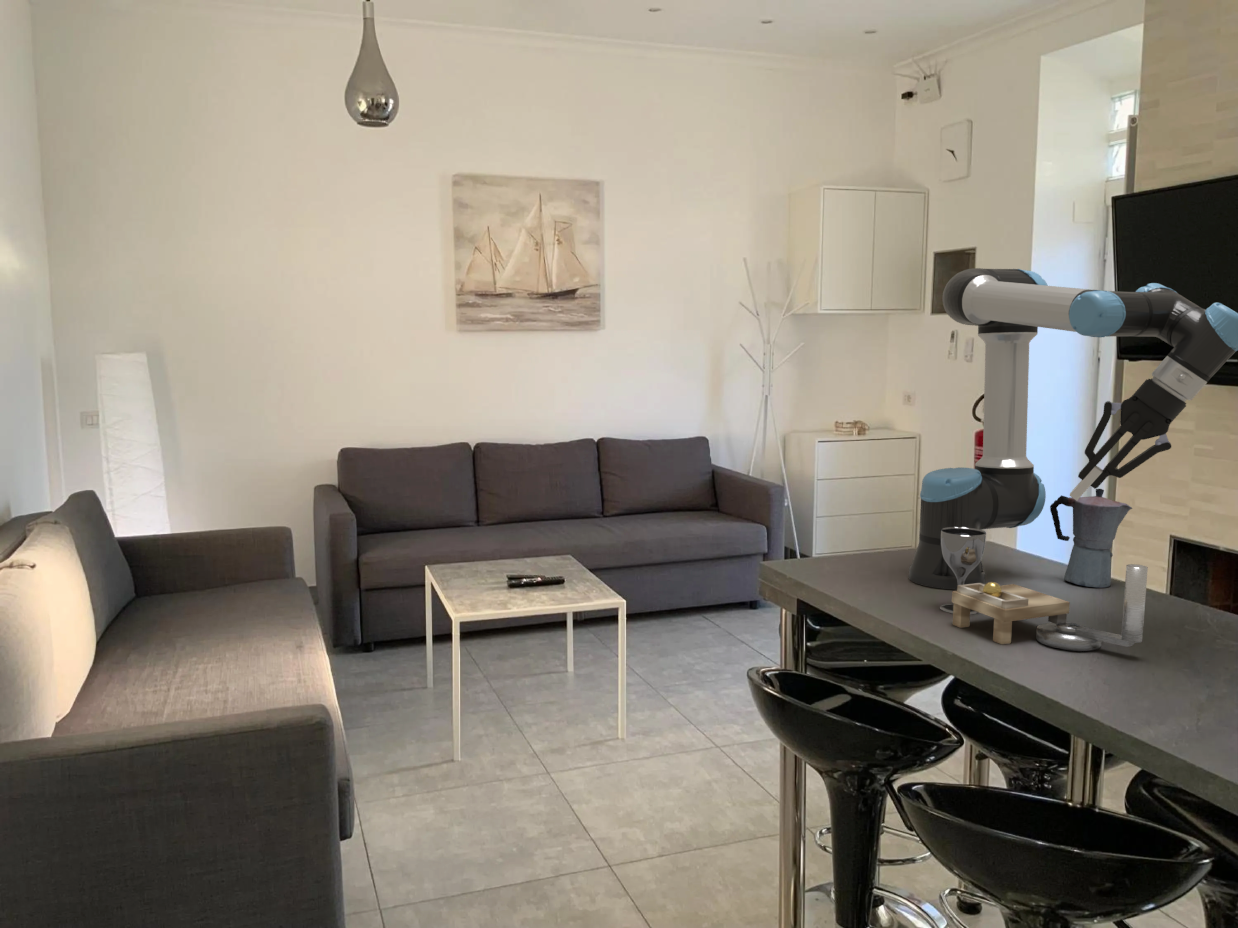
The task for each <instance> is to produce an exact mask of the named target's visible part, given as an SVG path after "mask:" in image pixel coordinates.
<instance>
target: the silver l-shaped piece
mask: <svg viewBox="0 0 1238 928" xmlns="http://www.w3.org/2000/svg"><path fill="white" fill-rule="evenodd" d="M1125 569H1126V570H1125V583H1124V592H1123V593H1124V597H1123V609H1122V622H1121V634H1119V633H1117V634H1116V633H1113V632H1109V631H1105V630H1099V629H1096V628H1095V629H1094V628H1093V627H1089V626H1084V625H1081V624H1078V623H1073V622H1068V621H1066V622H1060V623H1057V624H1054V623H1051V622H1046V623H1042V624H1041V623H1040V624H1038V625H1037V626H1036V632H1035V639H1036V641H1038V642H1039V643H1040V644H1042V645H1045V646H1048V647H1052V648H1056V649H1060V650H1065V651H1066V650H1067V651H1078V652H1082V651H1083V652H1084V651H1085V652H1086V651H1095V650H1098V649H1100V648H1101V647H1102V642H1103V643H1109V644H1112V645H1118V646H1122V647H1127V648H1129V647H1131V646H1133V645H1135V643H1142V642H1143V635H1144V622H1145V607H1146V595H1147V585H1148V584H1147V581H1148V570H1149V569H1148V566H1147V565H1143V564H1135V563H1134V564H1133V563H1130V564H1126V568H1125Z"/></svg>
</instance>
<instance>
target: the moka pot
mask: <svg viewBox="0 0 1238 928" xmlns="http://www.w3.org/2000/svg"><path fill="white" fill-rule="evenodd" d="M1104 491H1105V490H1104V489H1102V488H1096V489H1095V495H1093V496H1092V495H1091V496H1081V497H1080V498H1079V499H1078V500H1077V501H1076V500H1075V499H1074V498H1072V497H1071V496H1069V497H1067V496H1065V495H1060V496H1059V497H1057V499H1055V500H1054V501H1053V503H1051V505H1050V506H1049V510H1050V513H1051V519H1052V521H1053V526H1054V528H1055V529H1054V530H1055V534H1056V538H1057V540H1061V541H1065V542H1069V541H1070V538H1071V537H1070V536H1068V535H1063V532H1062V530H1061V521H1060V517H1059V511H1058V509H1057V508H1058V507H1059V506H1060V505H1064V506H1065V507H1071V508H1072V535H1073V536H1074V537H1073V538H1072V541H1073V545H1072V548H1071V552H1070V555H1069V556H1070V557H1069V560H1068V562H1067V567H1066V569H1065V573H1064V578H1063V580H1064V581H1067V582H1069V583H1070V584H1075V585H1077V586H1083V587H1088V588H1089V587H1090V588H1100V589H1101V588H1109V587H1110V586H1111V583H1112V582H1111V581H1112V578H1111V577H1112V567H1111V566H1112V565H1111V564H1112V561H1111V560H1112V557H1113V556H1114V555H1113V552H1112V550H1111V549H1112V546H1113V541H1114V540H1115V538H1116V535H1117V533H1118V527H1119V526H1120V524H1121V523H1122V521H1123V520H1124V518H1126V516H1127V514H1128V513H1129V511H1130V510H1132V509H1133V507H1132V506H1130V505H1129V504H1127V503H1124V502H1121V501H1117V500H1116V501H1115V500H1112V499H1110V498H1106V497H1103V495H1104Z"/></svg>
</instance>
